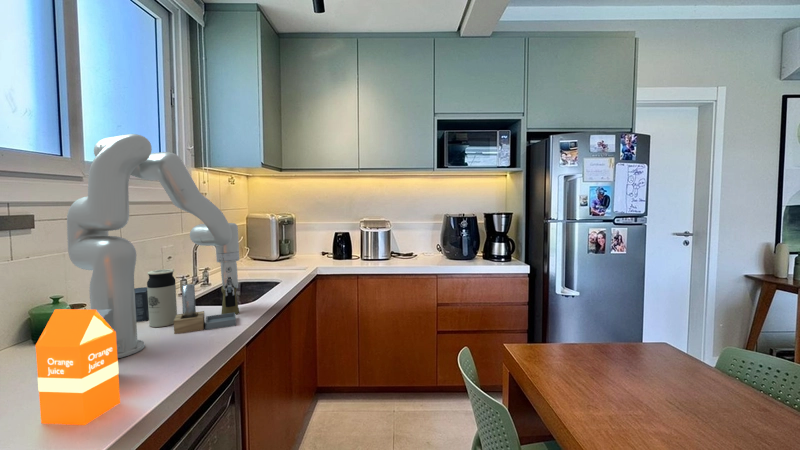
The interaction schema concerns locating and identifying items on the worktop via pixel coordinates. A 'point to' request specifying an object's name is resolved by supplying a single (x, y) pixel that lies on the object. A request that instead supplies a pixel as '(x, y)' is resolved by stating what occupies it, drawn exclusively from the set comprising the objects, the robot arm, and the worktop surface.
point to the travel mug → (161, 298)
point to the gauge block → (189, 323)
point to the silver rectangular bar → (188, 301)
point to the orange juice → (76, 367)
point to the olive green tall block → (229, 309)
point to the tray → (220, 321)
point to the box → (141, 304)
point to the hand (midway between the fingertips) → (230, 303)
